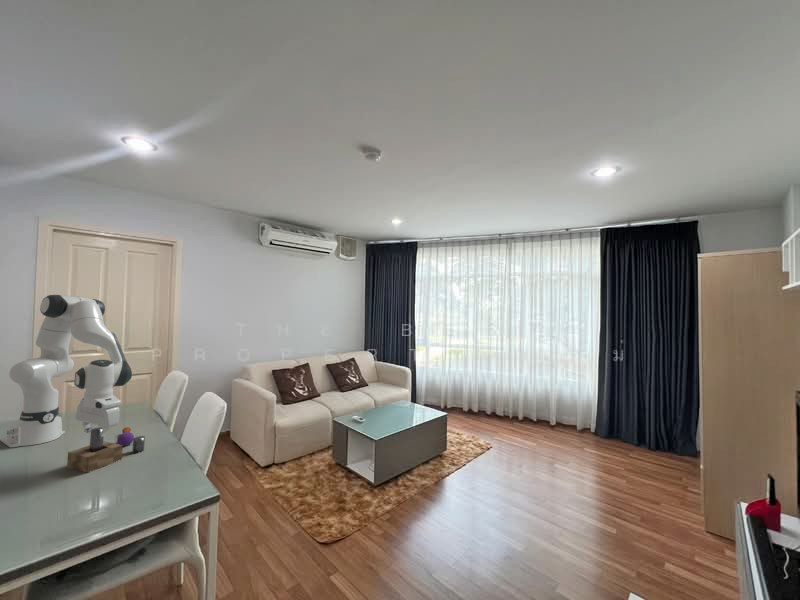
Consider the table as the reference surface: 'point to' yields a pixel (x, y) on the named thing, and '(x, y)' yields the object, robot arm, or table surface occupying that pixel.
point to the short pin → (138, 444)
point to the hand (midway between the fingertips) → (95, 434)
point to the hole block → (94, 457)
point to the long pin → (96, 440)
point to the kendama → (125, 437)
